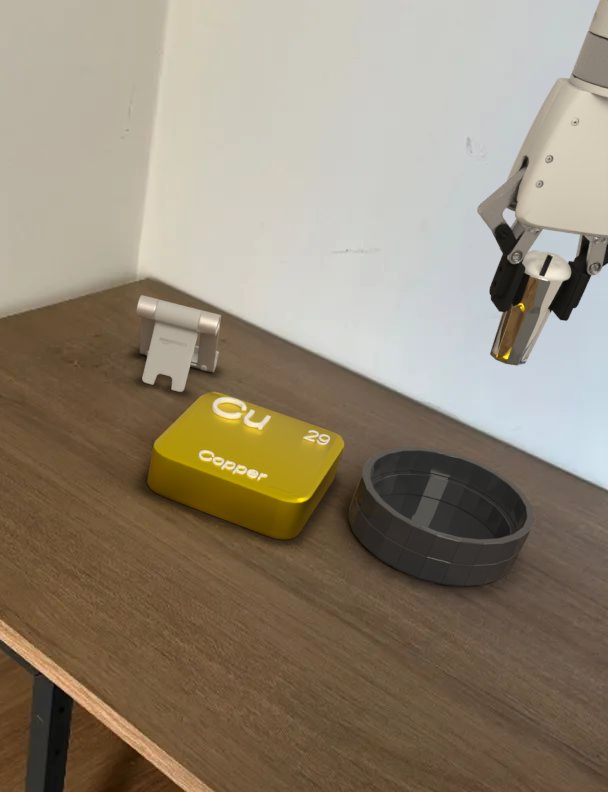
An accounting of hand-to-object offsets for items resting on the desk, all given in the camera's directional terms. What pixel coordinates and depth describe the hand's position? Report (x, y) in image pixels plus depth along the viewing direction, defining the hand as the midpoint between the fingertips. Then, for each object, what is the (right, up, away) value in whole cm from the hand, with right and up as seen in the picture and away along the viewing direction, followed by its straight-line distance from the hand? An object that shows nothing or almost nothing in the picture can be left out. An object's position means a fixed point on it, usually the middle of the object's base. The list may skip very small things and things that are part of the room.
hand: (528, 307), depth 83 cm
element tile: (-24, -14, +9) cm, 29 cm away
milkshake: (-1, -4, +3) cm, 5 cm away
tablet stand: (-30, +1, +24) cm, 38 cm away
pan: (-7, -19, +6) cm, 21 cm away
